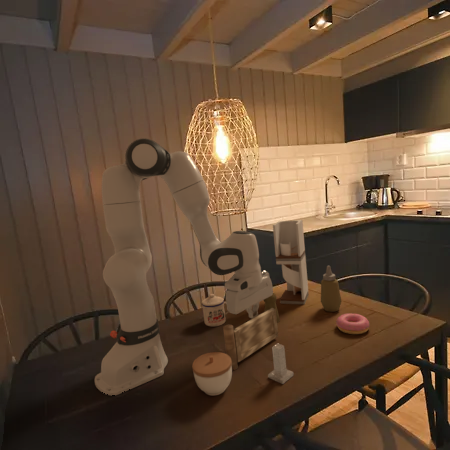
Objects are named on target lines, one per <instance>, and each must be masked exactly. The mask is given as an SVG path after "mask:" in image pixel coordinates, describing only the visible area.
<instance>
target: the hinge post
mask: <svg viewBox="0 0 450 450" xmlns="http://www.w3.org/2000/svg"><path fill="white" fill-rule="evenodd" d="M222 329H223V338H224V347H225V354H227V355H228V356H229V357H230V358H231V361H232V371H235V370H237V369H238V368H239V366H238V365H239V364H238V362H237V356H236V347H235V339H234V325H232V324H226V325H223V327H222Z"/></svg>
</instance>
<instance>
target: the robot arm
mask: <svg viewBox="0 0 450 450" xmlns="http://www.w3.org/2000/svg"><path fill="white" fill-rule="evenodd" d="M124 155H125V156H124V157H125V160H124V162H123V163H121V164H118V165H117V164H116V165H112V166H109V167H107V168H106V169H104V171H103V172H102V174H101V175H102V176H101V202H102V209H103V216H104V224H105V230H106V232H107V234H108V236H109V237H110V240H111V242H112V245H113V248H114V249H113V250H114V254H112V255H111V256H110V257H108V260H107V261H106V262H105V266H104V267H103V270H102V278H103V281H104V283H105V285H106V286H107V287H108V288H109V289H110V291H111V293H112V296H113V297H114V300H115V303H116V307H117V310H118V317H119V318H118V319H119V324H120V328H119V330H118V331H117V330H114V329H113V330H112V331H110V333H109V335H110V337H111V338H113V339H116V342H115V343H114V345H113V346H112V347H111V349H110V350H109V351H108V352H107V353H106V354H105V356H104V357H103V358H102V360H101V365H100V366H101V367H100V372H99V373H97V374H96V375H95V376H94V386H95V387H96V389H98V391H99V392H101V393H102V392H103V393H102V394H104V393H105V394H104V395H107V394H108V395H107V396H112V395H115V396H118V395H121V394H122V392H123V393H125V392H127V391H129V389H130V390H132V389H134V388H136V387H138V386H141V385H143V384H146V383H147V382H148V383H149V382H150V381H152V380H155V379H157V378H159V377H162V376H163V375H164V373H165V368H166V366H167V365H168V362H169V358H168V357H167V355H166V352H165V351H164V347H163V345H162V344H163V343H162V341H161V336H160V334H161V330H160V324H159V320H158V318H157V314H156V307H155V301H154V300H155V299H154V297H153V294H152V293H151V290H150V287H149V284H148V281H147V273H148V271H149V270H150V269H151V266H152V261H153V256H152V255H153V254H152V252H151V250H150V244H149V240H148V237H147V234H146V233H147V232H146V229H145V224H144V217H143V207H142V200H141V191H140V186H141V182H143V181H144V180H147V179H150V178H153V177H159V178H161V179H163V181H164V182H165V183H166V185H167V188H168V189H169V192H170V194H171V196H172V198H173V200H174V201H175V203H176V205H177V206H178V208H179V210H180V211H181V213H182V214H184V217H186V219H187V220H188V222H189V223H190V224H191V227H192V229H193V231H194V234H195V236H196V238H197V241H198V244H199V257H200V260H201V263H202V264H203V265H204V266H206V267H207V269H209V270H210V271H211V272H212V273H213V274H215V275H217V276H226V275H229V274H232V275H231V277H230V278H228V280H227V281H226V282H225V283H224V289H225V290H227V291H225V292H226V293H225V302H226V304H225V305H226V309H227V311H229V313H230V314H233V315H237V314H240V313H242V312H243V311H246V312H247V313H248V318H250V319H253V318H255V317H257V316H259V312H258V310H259V308H260V302H262V301H264V299H266V298H268V297H270V296H272V294H273V293H274V287H273V283H272V279H271V278H270V273H269V272H268V271H266V270H263V271H262V267H261V264H260V260H259V259H260V252H259V251H260V250H259V246H258V241H257V236H256V235H255V234H254V233H253V232H251V231H247V230H235V231H232V233H231V234H230V235H229V236H227V238H225V239H224V240H223V241H221V240H220V239H219V238H218V237H217V236H216V233H215V230H214V228H213V225H212V223H211V221H210V218H209V215H208V208H209V204H210V201H211V198H210V195H209V191H208V187H207V183H206V182H205V180H204V177H203V175H202V173H201V172H200V169H199V167H198V165H197V164H196V163H195V161H194V160H193V158H192V157H191V155H190V154H189V153H187V152H185V151H181V150H179V151H178V150H177V151H174V152H170V151H169V150H167V149H165V148H164V147H163V146H162V145H160V144H159V143H158V142H156V141H154V140H152V139H150V138H138V139H136V140H133V141H132V142H131V143H130V144H129V145H128V146H127V148H126V150H125V154H124ZM233 273H234V274H233ZM124 391H125V392H124Z"/></svg>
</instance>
